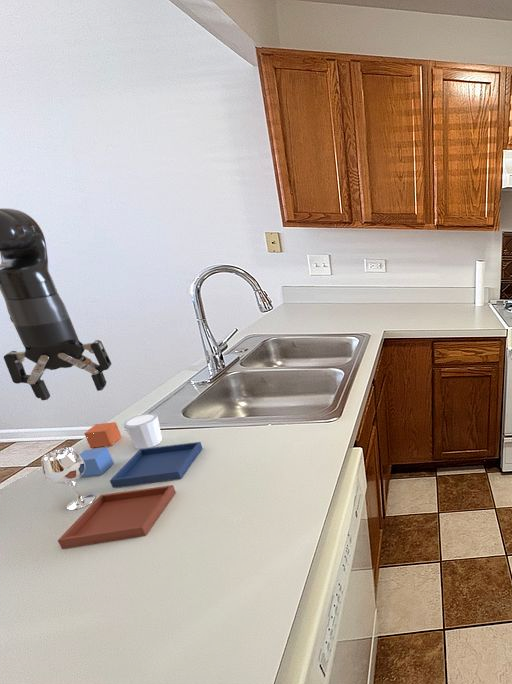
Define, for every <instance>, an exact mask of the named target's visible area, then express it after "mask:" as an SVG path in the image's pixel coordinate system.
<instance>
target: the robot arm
mask: <svg viewBox="0 0 512 684" xmlns="http://www.w3.org/2000/svg"><path fill="white" fill-rule="evenodd" d="M0 259H1V263H0V293H1V295H2V297H3V299H4V303H5V306H6V309H7V313H8V315H9V320H10V321H11V323H12V324H13V327H14V328H15V330H16V333H17V335H18V337H19V339H20V342H21V343H22V345H23V348H24V351H17V350H11V351H9V352H7V353H6V354H5V355H3V360H4V362H5V365H6V368H7V371H8V373H9V376H10V378H11V380H12V382H13V383H14V384H28V385H29V386H30V388H31V389H32V392H33V394H34V395H35V398H37V399H40V400H41V401H48V400H49V399H50V398H51V394H50V391H49V390H48V387H47V385H46V383H45V380H44V379H41V378H42V376H43V375H44V373H45V372H46V370H49V371H54V370H58V369H69V368H72V367H77V368H78V369H80V370H84V371H85V372H88V373H90V374H91V375H90V377H91V379H92V381H93V384H94V386H95V389H96V391H98V392H99V391H103V390H104V389H105V387H106V386H107V380H106V377H105V375H104V371H107V370H109V369H110V367H111V366H112V361H111V359H110V357H109V355H108V353H107V351H106V348H105V346H104V344H103V342H102V341H101V340H99V339H95V340H94V341H93V342H88V343H83V342H81V341H80V340H79V337H78V334H77V331H76V329H75V327H74V324H73V321H72V319H71V317H70V315H69V313H68V310H67V307H66V305H65V303H64V301H63V299H62V298H61V295H60V294H59V292H58V290H57V287H56V285H55V281H54V280H53V277H52V276H51V273H50V271H49V257H48V250H47V243H46V237H45V235H44V232H43V229H42V228H41V227H40V225H39V223H38V222H37V221H36V220H35V219H34V218H33V217H32V216H31V215H29V214H27V212H24V211H21V210H18V209H15V208H4V207H3V208H0ZM85 350H86V351H88V352H89V353H90V354H94V356H95V359H96V361H97V362H98V363H96V362H94V361H93V360H92V359H91V358H89V357H87V355H86V356H85V355H84V352H85ZM25 358H26V359H27V360H29V361H31V362H32V363H35V366H34V367H33V369H32V371H31V372H30V374H27V373H26V370H25V367H24V364H23V362H24V361H25Z"/></svg>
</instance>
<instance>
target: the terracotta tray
mask: <svg viewBox="0 0 512 684" xmlns="http://www.w3.org/2000/svg"><path fill="white" fill-rule="evenodd" d="M176 493H177V491H176V489H175V486H174V484H171V485H163V486H157V487H156V486H155V487H148V488H141V489H134V490H133V489H132V490H126V491H119V492H111V493H104V494H100V495H99V496H98V497H97V498H95V499H96V500H94V501H93V502H92V503H91V504H90V505H89V507H88V508H87V509H86V510H85V511H84V512H83V513H82V514H80V515H79V517H78V518H77V519H76V520H75V521H74V523H73V524H71V526H69V528H68V529H66V531H65V532H64V533H63V534H62V535H61V536H60V537H59V538H58V539H57V543H58V544H59V546H60V548H61V549H62V550H64V549H67V548H68V549H69V548H75V547H81V546H88V545H95V544H100V543H101V544H102V543H108V542H112V541H113V542H114V541H121V540H125V539H133V538H139V537H145V536H147V535H148V533H149V531H150V530H151V529H152V527H153V526H154V525H155V523H156V521H157V520H158V519H159V517H160V516H161V514H162V513H163V512H164V510H165V508H166V507H167V506H168V504H169V503H170V502H171V500H172V499H173V497H174V496H175V494H176Z"/></svg>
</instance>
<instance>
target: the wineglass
mask: <svg viewBox="0 0 512 684" xmlns="http://www.w3.org/2000/svg"><path fill="white" fill-rule="evenodd" d="M80 454H81V453H79V452H78V451H77V450H76V449H75V448H74V447H71V446H70V447H62V448H58V449H55V450H52V451H50V452H48V453H46V454H44V455H43V456H42V457H41V459H40V461H41V469H42V473H43V476H44V478H45V479H46V480H47V481H48V482H50V483H51V484H55V485H64V484H68V485H69V488H70V489H71V490H72V491H73V492H74V494H75V496H76V498H75V499H73V500H71V501H70V502H69V503H68V504H67V505H66V509H67V511H74V510H79V509H82V508H85V507H87V506H90V505H91V504H93V503H94V502H95V499H97V498H96V497H97V496H96V495H95V494H85V495H82V496H81V495H80V493H79V490H78V487H77V482H76V480H77V479H80V478H79V477H80V476H82V475H83V473H84V472H85V469H86V466H85V462H84V460H83V458H82V457H81V456H80Z"/></svg>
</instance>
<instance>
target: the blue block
mask: <svg viewBox="0 0 512 684" xmlns="http://www.w3.org/2000/svg"><path fill="white" fill-rule="evenodd" d="M79 454H80V456H81V457H82V458H83V460H84V462H85V466H86V469H85V472H84V473H83V475H82V476H80V477H79V478H78V479H80V478H87V477H95V476H102V475H103V474H105V473H106V472H107V471H108V470H109V469H110V468H111V467H112V466H113V464H114V459H113V458H112V456H111V453H110V451H109V449H108V447H98V448H90V449H84V450H83V451H82V452H80V453H79Z"/></svg>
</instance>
